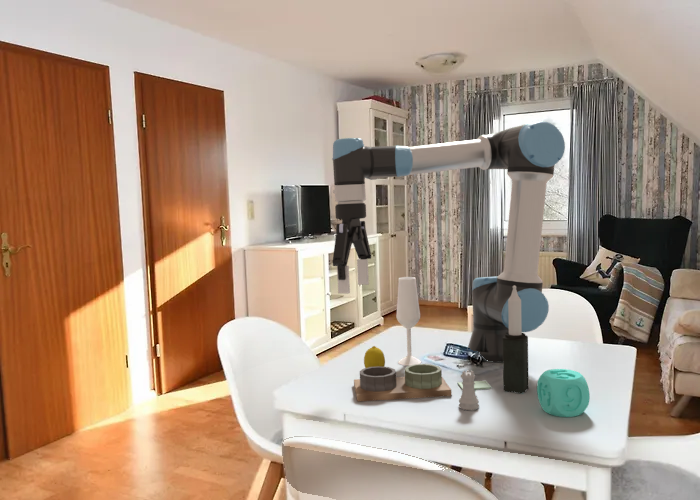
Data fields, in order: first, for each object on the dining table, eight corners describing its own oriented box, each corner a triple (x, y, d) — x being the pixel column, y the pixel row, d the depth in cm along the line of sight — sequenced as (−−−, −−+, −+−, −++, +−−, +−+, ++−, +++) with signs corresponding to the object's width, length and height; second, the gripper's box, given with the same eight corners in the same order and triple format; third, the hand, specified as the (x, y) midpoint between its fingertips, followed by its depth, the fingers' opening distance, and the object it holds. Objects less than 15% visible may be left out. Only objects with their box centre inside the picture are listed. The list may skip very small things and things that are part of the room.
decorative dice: (571, 402, 131) (571, 367, 130) (590, 415, 123) (590, 378, 123) (536, 405, 130) (536, 370, 130) (553, 419, 122) (553, 381, 122)
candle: (523, 394, 138) (522, 287, 136) (502, 391, 141) (500, 286, 138) (529, 387, 142) (528, 284, 140) (508, 384, 145) (507, 283, 143)
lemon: (383, 379, 153) (382, 348, 153) (362, 378, 154) (361, 348, 154) (386, 373, 159) (385, 343, 158) (366, 372, 160) (365, 343, 159)
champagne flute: (405, 366, 164) (402, 280, 162) (393, 361, 170) (390, 277, 168) (426, 363, 166) (423, 278, 164) (413, 357, 172) (411, 275, 170)
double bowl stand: (440, 380, 150) (440, 361, 150) (451, 396, 138) (451, 375, 138) (354, 385, 149) (353, 365, 149) (357, 401, 137) (356, 380, 137)
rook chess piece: (480, 404, 132) (479, 369, 131) (478, 411, 128) (477, 375, 127) (460, 403, 133) (459, 368, 133) (457, 410, 129) (456, 374, 129)
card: (485, 382, 148) (485, 380, 147) (491, 388, 143) (491, 387, 143) (457, 383, 147) (457, 382, 147) (462, 390, 142) (462, 388, 142)
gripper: (353, 202, 158) (357, 281, 160) (315, 204, 135) (319, 297, 137) (380, 201, 155) (384, 281, 157) (346, 203, 132) (350, 297, 134)
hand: (354, 288), depth 147 cm, fingers open, 13 cm apart
